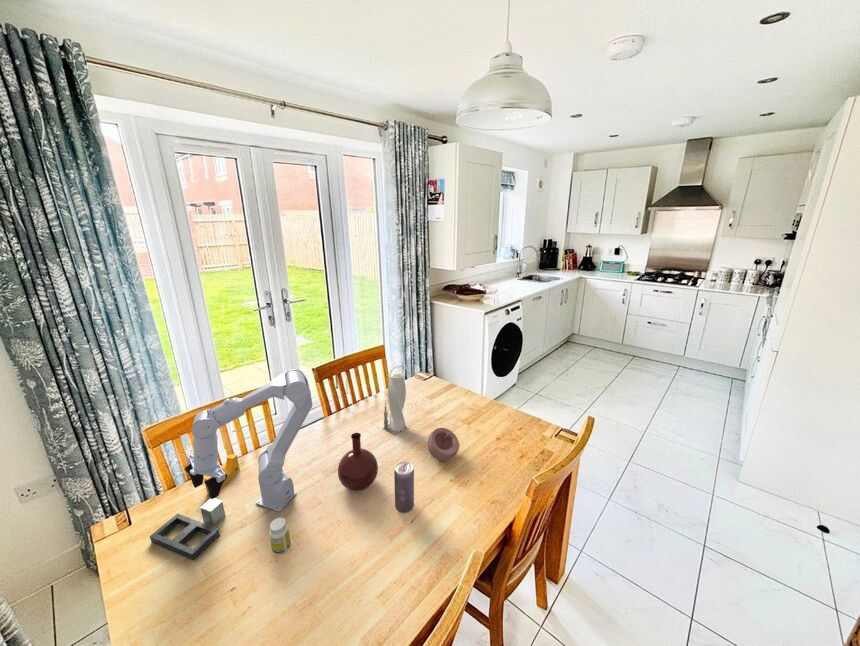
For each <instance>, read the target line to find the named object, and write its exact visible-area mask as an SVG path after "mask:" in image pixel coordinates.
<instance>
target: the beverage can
mask: <svg viewBox="0 0 860 646" xmlns="http://www.w3.org/2000/svg"><path fill="white" fill-rule="evenodd" d="M393 473H394V477H393V478H394V507H395V509H396V511H398V512H399V513H401V514H408V513H410V512H411V511H412V510H413V508H414V506H415V469H414V466H413V464H412V463H411V462H409V461H400V462H397V463H396V465H395V466H394V470H393Z"/></svg>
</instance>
